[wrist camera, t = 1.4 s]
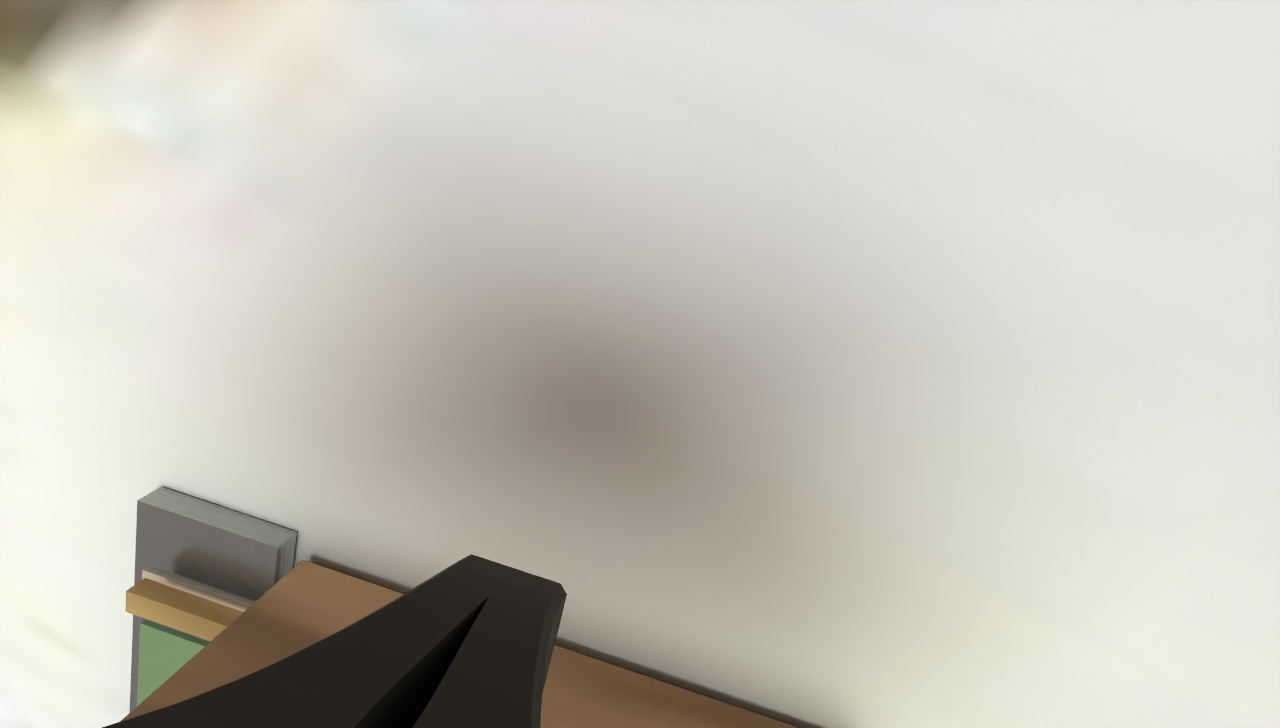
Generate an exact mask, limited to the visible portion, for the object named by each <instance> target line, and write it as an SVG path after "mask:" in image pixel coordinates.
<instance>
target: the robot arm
mask: <svg viewBox="0 0 1280 728" xmlns="http://www.w3.org/2000/svg"><path fill="white" fill-rule="evenodd" d="M566 595H567V594H566V592H565V591H564V589H563V587H562V585H561V584H560V583H557V582H554V581H551V580H548V579H545V578H542V577H539V576H536V575H532V574H529V573H526V572H523V571H520V570H517V569H514V568H511V567H508V566H505V565H502V564H499V563H496V562H493V561H490V560H487V559H484V558H481V557H478V556H475V555H470V556H468V557H465V558H463V559H462V560H460V561H458V562H456V563H455V564H453V565H451V566H450V567H448V568H446V569H445V570H443V571H442V572H440V573H438V574H437V575H435V576H433V577H432V578H430V579H429V580H427V581H425V582H424V583H422V584H420V585H419V586H417V587H415V588H414V589H412V590H410V591H409V592H407V593H405V594H404V595H402V596H400V597H399V598H397V599H395V600H393V601H392V602H390V603H388V604H386V605H385V606H383V607H381V608H379V609H377V610H376V611H374V612H372V613H370V614H369V615H367V616H365V617H363V618H361V619H360V620H358V621H356V622H354V623H353V624H351V625H349V626H347V627H345V628H343V629H342V630H340V631H338V632H336V633H334V634H332V635H330V636H328V637H326V638H324V639H322V640H320V641H318V642H316V643H314V644H312V645H310V646H308V647H306V648H304V649H302V650H300V651H298V652H296V653H294V654H292V655H290V656H288V657H286V658H284V659H282V660H280V661H278V662H276V663H273V664H271V665H269V666H267V667H265V668H262V669H260V670H258V671H256V672H254V673H251V674H249V675H247V676H245V677H242V678H240V679H238V680H235V681H233V682H230V683H228V684H225V685H223V686H220V687H218V688H215V689H213V690H210V691H208V692H205V693H202V694H200V695H197V696H195V697H192V698H190V699H187V700H184V701H181V702H179V703H176V704H173V705H170V706H167V707H164V708H161V709H158V710H155V711H152V712H149V713H146V714H143V715H140V716H137V717H134V718H130V719H127V720H124V721H121V722H118V723H115V724H112V725H109V726H106V727H103V728H540V724H541V704H542V694H543V690H544V686H545V682H546V678H547V673H548V669H549V665H550V661H551V657H552V653H553V649H554V645H555V640H556V636H557V632H558V628H559V624H560V620H561V616H562V612H563V608H564V603H565V599H566Z"/></svg>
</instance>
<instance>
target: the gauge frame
mask: <svg viewBox="0 0 1280 728" xmlns="http://www.w3.org/2000/svg"><path fill="white" fill-rule="evenodd" d="M296 537H297V532H296V531H293V530H290V529H287V528H284V527H281V526H278V525H275V524H272V523H269V522H266V521H263V520H260V519H257V518H254V517H251V516H248V515H245V514H242V513H239V512H236V511H233V510H230V509H227V508H224V507H221V506H218V505H215V504H212V503H209V502H206V501H203V500H200V499H197V498H194V497H191V496H188V495H185V494H182V493H179V492H176V491H173V490H170V489H167V488H164V487H160V488H158V489H156V490H155V491H153V492H151V493H150V494H148V495H146V496H144V497H143V498H141V499H139V500H138V503H137V530H136V558H135V585H136V584H137V583H138V582H140V581H141V580H143V579H144V578H147V579H150V580H153V581H156V582H159V583H162V584H165V585H167V586H170V587H173V588H176V589H179V590H182V591H185V592H187V593H190V594H193V595H196V596H199V597H202V598H205V599H208V600H210V601H213V602H216V603H219V604H222V605H225V606H228V607H230V608H233V609H236V610H239V611H242V612H244V611H246V610H247V609H248V608H249V607H250V606H251V605H252V604H254V603H255V602H256V601H257V600H258V599H259V598H260V597H261V596H263V595H264V594H265V593H266V592H267V591H268V590H269V589H270V588H272V587H273V586H274V585H275V584H276V583H277V582H278V581H279V580H281V579H282V578H283V577H284V576H285V575H286V574H287V573H289V572H290V571H291V570H292V569H293V564H294V555H295V546H296ZM209 642H210V641H207V640H204V639H201V638H199V637H196V636H193V635H190V634H187V633H185V632H182V631H179V630H176V629H173V628H171V627H168V626H165V625H162V624H159V623H156V622H154V621H151V620H148V619H145V618H142V617H140V616H137V615H134V614H133V639H132V667H131V694H130V712H132V711H133V710H134V709H135V708H136V707H137V706H138V705H140V704H141V703H142V702H143V701H144V700H145V699H146V698H147V697H149V696H150V695H151V694H152V693H153V692H154V691H155V690H156V689H158V688H159V687H160V686H161V685H162V684H163V683H164V682H165V681H167V680H168V679H169V678H170V677H171V676H172V675H173V674H175V673H176V672H177V671H178V670H179V669H180V668H181V667H182V666H184V665H185V664H186V663H187V662H188V661H189V660H190V659H191V658H193V657H194V656H195V655H196V654H197V653H198V652H199V651H200V650H202V649H203V648H204V647H205V646H206V645H207V644H208V643H209Z"/></svg>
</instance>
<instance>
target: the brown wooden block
mask: <svg viewBox="0 0 1280 728" xmlns="http://www.w3.org/2000/svg"><path fill="white" fill-rule="evenodd" d="M402 595H404V594H402V593H399V592H396V591H393V590H390V589H387V588H384V587H381V586H379V585H376V584H373V583H370V582H367V581H364V580H361V579H358V578H355V577H352V576H349V575H346V574H343V573H340V572H337V571H334V570H331V569H328V568H325V567H322V566H319V565H316V564H314V563H311V562H308V561H305V560H302V561H301V562H300V563H299V564H298V565H296V566H295V567H294V568H293V569H292V570H291V571H290V572H289V573H287V574H286V575H285V576H284V577H283V578H282V579H281V580H279V581H278V582H277V583H276V584H275V585H274V586H273V587H272V588H270V589H269V590H268V591H267V592H266V593H265V594H264V595H263V596H261V597H260V598H259V599H258V600H257V601H256V602H255V603H254V604H252V605H251V606H250V607H249V608H248V609H247V610H246V611H244V612H242V611H239V610H236V609H233V608H230V607H228V606H225V605H222V604H219V603H216V602H213V601H210V600H208V599H205V598H202V597H199V596H196V595H193V594H190V593H187V592H185V591H182V590H179V589H176V588H173V587H170V586H167V585H165V584H162V583H159V582H156V581H153V580H150V579H147V578H144V579H143V580H141V581H140V582H138V583H137V584H136V585H134V586H133V587H131V588H130V589H129V590H127V591H126V612H128V613H131V614H134V615H137V616H140V617H142V618H145V619H148V620H151V621H154V622H156V623H159V624H162V625H165V626H168V627H171V628H173V629H176V630H179V631H182V632H185V633H187V634H190V635H193V636H196V637H199V638H201V639H204V640H207V641H210V642H209V643H208V644H207V645H206V646H205V647H204V648H203V649H202V650H200V651H199V652H198V653H197V654H196V655H195V656H194V657H193V658H191V659H190V660H189V661H188V662H187V663H186V664H185V665H184V666H182V667H181V668H180V669H179V670H178V671H177V672H176V673H175V674H173V675H172V676H171V677H170V678H169V679H168V680H167V681H165V682H164V683H163V684H162V685H161V686H160V687H159V688H158V689H156V690H155V691H154V692H153V693H152V694H151V695H150V696H149V697H147V698H146V699H145V700H144V701H143V702H142V703H141V704H140V705H138V706H137V707H136V708H135V709H134V710H133V711H132V712H130V713H129V714H128V715H127V716H126V717H125V718H124V719H123V720H121V721H124V720H127V719H130V718H134V717H137V716H140V715H143V714H146V713H149V712H152V711H155V710H158V709H161V708H164V707H167V706H170V705H173V704H176V703H179V702H181V701H184V700H187V699H190V698H192V697H195V696H197V695H200V694H202V693H205V692H208V691H210V690H213V689H215V688H218V687H220V686H223V685H225V684H228V683H230V682H233V681H235V680H238V679H240V678H242V677H245V676H247V675H249V674H251V673H254V672H256V671H258V670H260V669H262V668H265V667H267V666H269V665H271V664H273V663H276V662H278V661H280V660H282V659H284V658H286V657H288V656H290V655H292V654H294V653H296V652H298V651H300V650H302V649H304V648H306V647H308V646H310V645H312V644H314V643H316V642H318V641H320V640H322V639H324V638H326V637H328V636H330V635H332V634H334V633H336V632H338V631H340V630H342V629H343V628H345V627H347V626H349V625H351V624H353V623H354V622H356V621H358V620H360V619H361V618H363V617H365V616H367V615H369V614H370V613H372V612H374V611H376V610H377V609H379V608H381V607H383V606H385V605H386V604H388V603H390V602H392V601H393V600H395V599H397V598H399V597H400V596H402ZM121 721H120V722H121ZM540 728H798V727H795V726H792V725H789V724H786V723H783V722H780V721H777V720H774V719H772V718H769V717H766V716H763V715H760V714H757V713H754V712H751V711H748V710H745V709H742V708H739V707H736V706H733V705H730V704H727V703H724V702H721V701H718V700H715V699H712V698H709V697H707V696H704V695H701V694H698V693H695V692H692V691H689V690H686V689H683V688H680V687H677V686H674V685H671V684H668V683H665V682H662V681H659V680H656V679H653V678H650V677H647V676H644V675H642V674H639V673H636V672H633V671H630V670H627V669H624V668H621V667H618V666H615V665H612V664H609V663H606V662H603V661H600V660H597V659H594V658H591V657H588V656H585V655H582V654H579V653H576V652H574V651H571V650H568V649H565V648H562V647H559V646H556V645H554V649H553V653H552V657H551V661H550V665H549V669H548V673H547V678H546V682H545V686H544V690H543V694H542V704H541V724H540Z"/></svg>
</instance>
